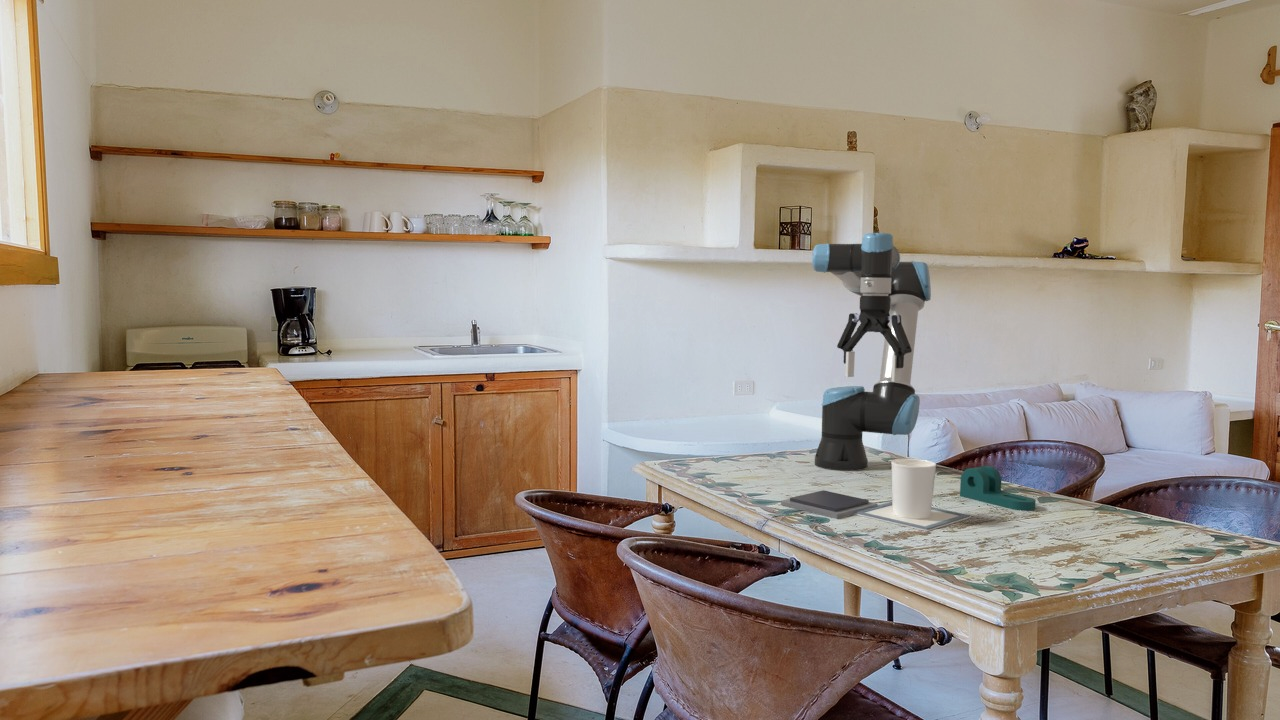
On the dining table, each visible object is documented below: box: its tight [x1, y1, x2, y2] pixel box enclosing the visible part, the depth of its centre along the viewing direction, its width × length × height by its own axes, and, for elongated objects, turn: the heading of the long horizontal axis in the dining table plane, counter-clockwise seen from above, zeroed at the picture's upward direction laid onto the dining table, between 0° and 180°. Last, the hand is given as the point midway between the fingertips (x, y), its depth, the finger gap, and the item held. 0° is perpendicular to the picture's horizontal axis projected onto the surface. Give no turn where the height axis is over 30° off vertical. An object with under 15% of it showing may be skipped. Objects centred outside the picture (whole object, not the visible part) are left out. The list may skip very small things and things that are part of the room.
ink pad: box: [780, 490, 878, 519], centre depth 209 cm, size 16×16×2 cm
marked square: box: [853, 501, 973, 532], centre depth 202 cm, size 19×19×1 cm
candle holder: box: [890, 458, 937, 519], centre depth 201 cm, size 10×10×12 cm
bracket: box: [959, 465, 1037, 512], centre depth 216 cm, size 18×7×8 cm, turn 31°
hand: (872, 379), depth 225 cm, fingers open, 13 cm apart
